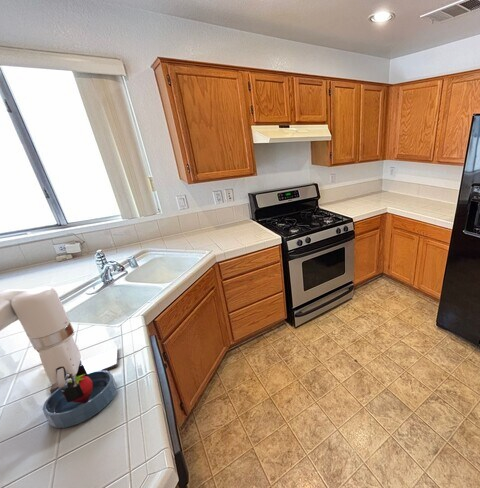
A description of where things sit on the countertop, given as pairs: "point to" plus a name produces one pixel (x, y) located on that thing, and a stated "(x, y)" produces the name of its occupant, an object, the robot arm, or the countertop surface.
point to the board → (96, 364)
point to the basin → (73, 412)
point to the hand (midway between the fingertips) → (78, 388)
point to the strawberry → (84, 388)
